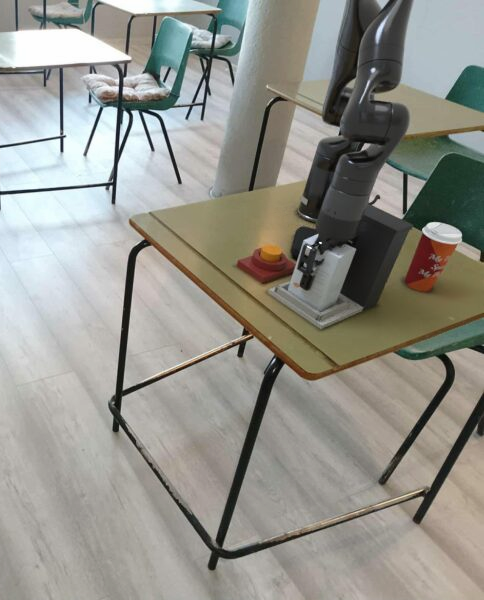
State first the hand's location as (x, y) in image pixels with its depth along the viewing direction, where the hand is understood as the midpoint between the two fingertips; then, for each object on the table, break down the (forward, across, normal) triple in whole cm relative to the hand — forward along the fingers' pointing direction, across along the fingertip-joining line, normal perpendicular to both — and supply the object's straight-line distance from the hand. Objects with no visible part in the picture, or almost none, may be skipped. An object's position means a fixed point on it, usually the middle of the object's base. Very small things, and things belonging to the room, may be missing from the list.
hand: (316, 283), depth 115 cm
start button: (+2, +2, +14) cm, 14 cm away
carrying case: (+5, +19, +14) cm, 24 cm away
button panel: (+5, +2, +14) cm, 15 cm away
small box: (+4, 0, 0) cm, 4 cm away
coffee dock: (+5, +4, 0) cm, 6 cm away
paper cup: (+5, +29, -7) cm, 30 cm away
